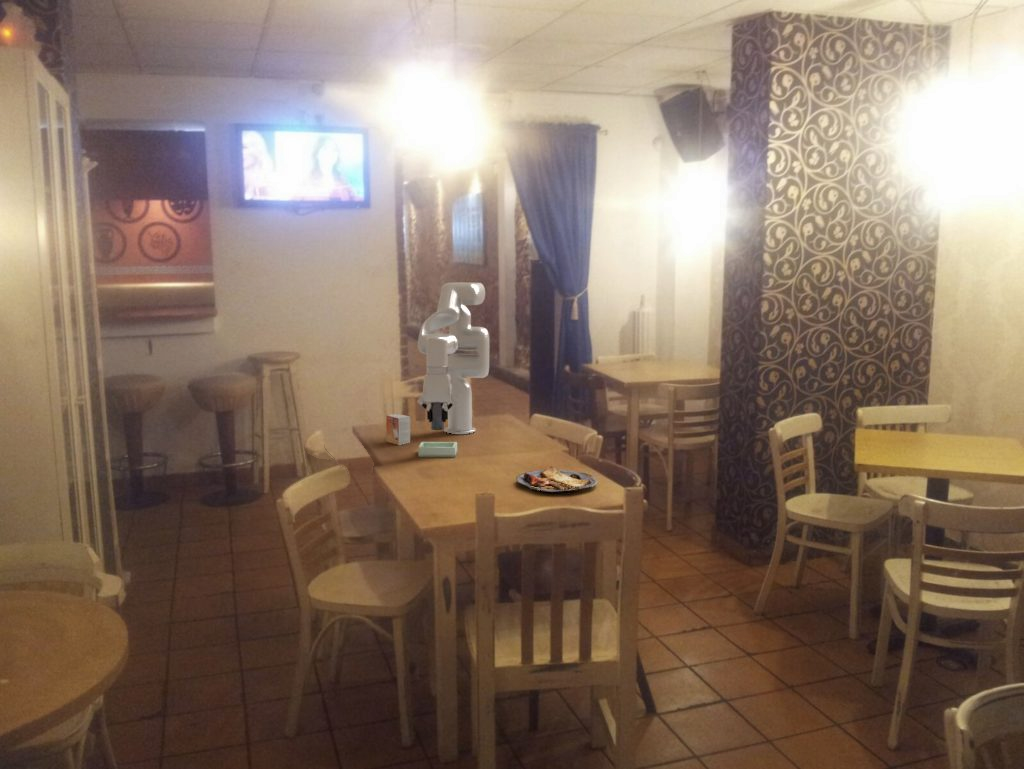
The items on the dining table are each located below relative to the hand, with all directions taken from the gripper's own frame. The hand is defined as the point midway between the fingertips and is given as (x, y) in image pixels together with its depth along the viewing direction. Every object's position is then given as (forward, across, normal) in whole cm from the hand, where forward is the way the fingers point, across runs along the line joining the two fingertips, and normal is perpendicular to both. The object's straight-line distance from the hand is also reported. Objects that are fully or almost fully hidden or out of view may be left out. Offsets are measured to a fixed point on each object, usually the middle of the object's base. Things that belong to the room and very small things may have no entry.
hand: (437, 421), depth 315 cm
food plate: (+13, -41, +41) cm, 59 cm away
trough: (+12, 0, 0) cm, 12 cm away
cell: (+3, 0, 0) cm, 3 cm away
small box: (+12, +17, -19) cm, 28 cm away
